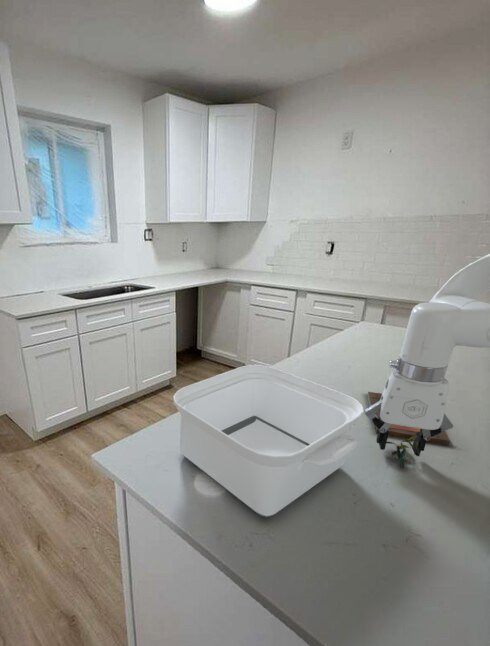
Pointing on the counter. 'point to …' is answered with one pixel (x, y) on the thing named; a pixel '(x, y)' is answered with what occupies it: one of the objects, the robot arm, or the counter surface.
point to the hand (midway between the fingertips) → (398, 448)
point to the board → (403, 430)
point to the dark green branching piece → (402, 454)
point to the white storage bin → (265, 433)
